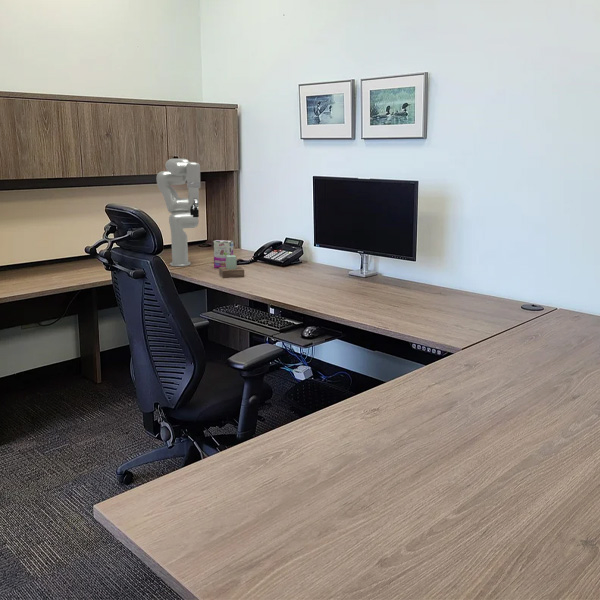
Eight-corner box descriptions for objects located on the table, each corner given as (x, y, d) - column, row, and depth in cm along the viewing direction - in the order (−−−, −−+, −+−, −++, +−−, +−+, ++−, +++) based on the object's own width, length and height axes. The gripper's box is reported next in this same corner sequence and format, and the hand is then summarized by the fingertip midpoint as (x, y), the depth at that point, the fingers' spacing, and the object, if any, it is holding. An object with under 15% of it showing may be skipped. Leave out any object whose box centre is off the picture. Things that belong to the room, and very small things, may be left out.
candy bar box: (234, 267, 374) (233, 240, 370) (231, 269, 369) (230, 241, 365) (217, 266, 377) (216, 239, 373) (213, 268, 373) (213, 240, 369)
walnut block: (219, 273, 356) (218, 266, 355) (239, 272, 359) (239, 265, 358) (222, 278, 345) (222, 270, 344) (244, 276, 348) (244, 269, 347)
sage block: (226, 267, 353) (225, 255, 351) (234, 267, 354) (234, 255, 352) (227, 269, 348) (227, 257, 346) (236, 269, 350) (236, 256, 348)
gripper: (184, 184, 354) (185, 214, 358) (188, 186, 338) (189, 218, 342) (198, 184, 356) (198, 214, 360) (202, 186, 340) (203, 217, 344)
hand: (194, 216), depth 351 cm, fingers open, 9 cm apart
